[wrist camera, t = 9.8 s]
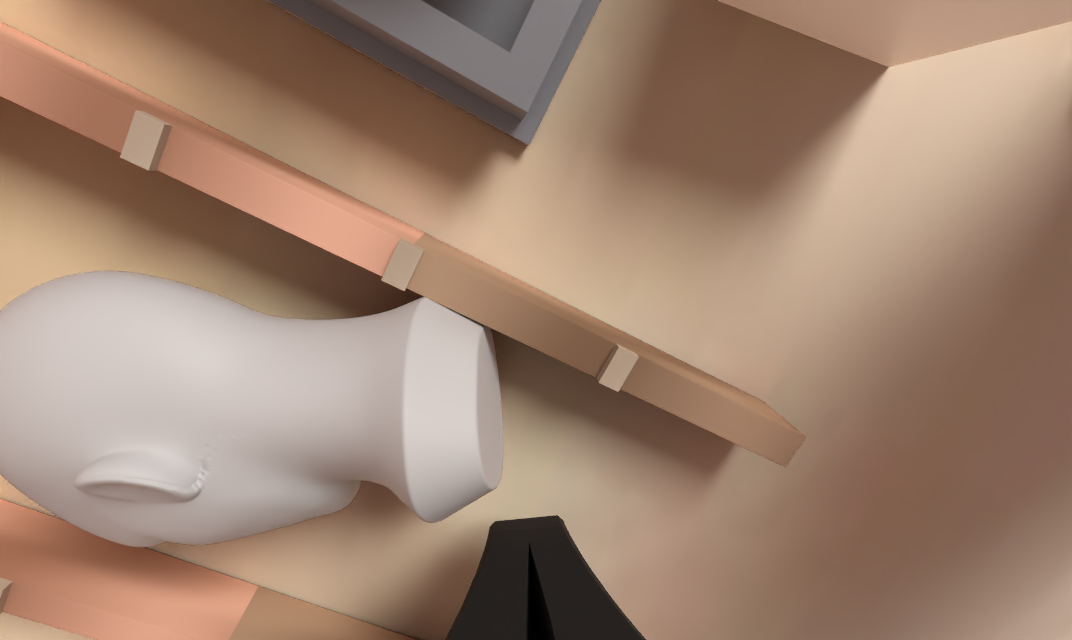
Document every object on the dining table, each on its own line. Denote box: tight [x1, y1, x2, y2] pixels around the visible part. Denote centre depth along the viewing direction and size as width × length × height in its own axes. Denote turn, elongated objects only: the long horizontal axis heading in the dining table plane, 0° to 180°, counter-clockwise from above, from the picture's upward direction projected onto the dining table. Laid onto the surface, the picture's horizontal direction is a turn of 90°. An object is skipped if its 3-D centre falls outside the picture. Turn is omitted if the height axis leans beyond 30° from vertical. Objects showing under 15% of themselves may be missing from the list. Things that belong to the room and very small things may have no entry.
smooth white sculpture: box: [0, 271, 503, 547], centre depth 9 cm, size 4×8×5 cm
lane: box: [0, 22, 806, 640], centre depth 10 cm, size 17×9×2 cm, turn 63°
